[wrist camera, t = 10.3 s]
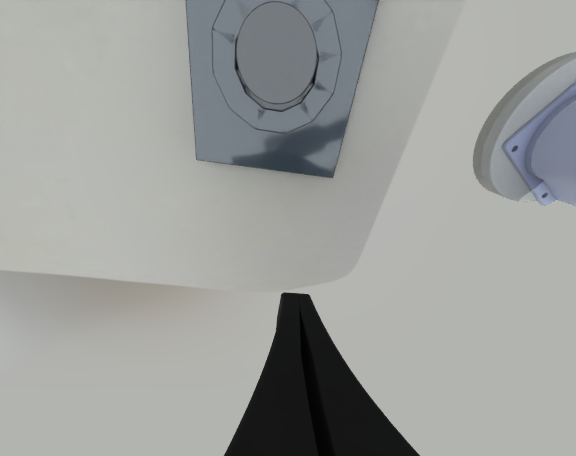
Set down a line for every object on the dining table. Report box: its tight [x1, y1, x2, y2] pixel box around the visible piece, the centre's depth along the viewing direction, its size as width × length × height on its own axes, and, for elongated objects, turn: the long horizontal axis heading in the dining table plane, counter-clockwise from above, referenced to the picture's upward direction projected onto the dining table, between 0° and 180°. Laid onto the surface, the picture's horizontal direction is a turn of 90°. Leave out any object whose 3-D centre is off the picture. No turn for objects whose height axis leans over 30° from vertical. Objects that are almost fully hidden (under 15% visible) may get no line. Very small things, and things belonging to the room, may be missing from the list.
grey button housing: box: [186, 0, 379, 178], centre depth 13 cm, size 12×10×4 cm
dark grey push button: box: [236, 1, 317, 104], centre depth 10 cm, size 4×4×2 cm
